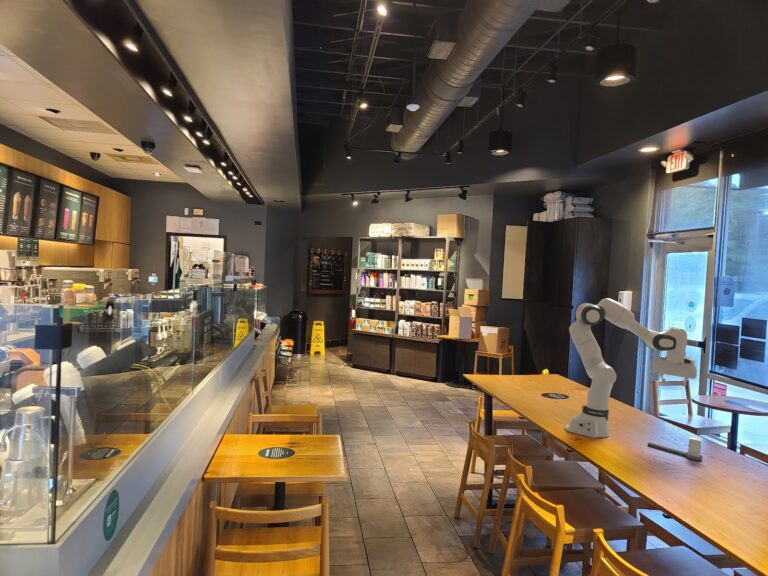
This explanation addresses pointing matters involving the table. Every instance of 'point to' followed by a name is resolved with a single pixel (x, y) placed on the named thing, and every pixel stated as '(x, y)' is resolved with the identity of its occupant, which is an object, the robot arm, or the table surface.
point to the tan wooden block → (694, 446)
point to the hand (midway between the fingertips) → (673, 384)
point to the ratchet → (675, 451)
